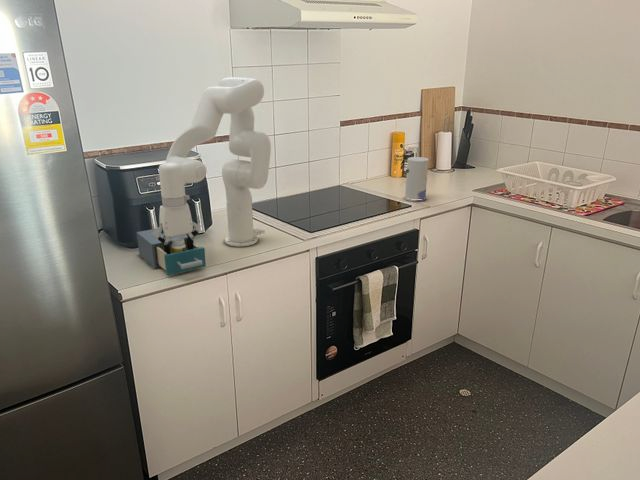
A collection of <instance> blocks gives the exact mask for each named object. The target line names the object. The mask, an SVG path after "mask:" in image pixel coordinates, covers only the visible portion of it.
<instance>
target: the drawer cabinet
mask: <svg viewBox="0 0 640 480" xmlns="http://www.w3.org/2000/svg"><path fill="white" fill-rule="evenodd" d="M156 230H157V228H152V229H151V228H150V229H147V230H141V231H136V239H137V246H138V254H139V257H141V258H142V259H143V260H144V261H145V262H146V263H147V264H149V265H150V266H151V267H152V268H153V269H155V270H156V269H160V268H161V269H162V267H161V266H160V265H159V264H157V262H156V253H155V246H160V245H163V243H162V242H160V241H159V240H158V239H157V238H156V237H154V236H153V233H154V232H155V231H156ZM163 235H164V234H162V233H160V234H159V236H160V237H161V238H163ZM175 238H183V239H184V241H185V240H187V238H188V236H187V235H186V234H183V235H178V236H173V237H170V239H169V242H168V244H170V243H172V240H173V239H175ZM194 240H195V239H193V243H194V244H195V242H194Z"/></svg>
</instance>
